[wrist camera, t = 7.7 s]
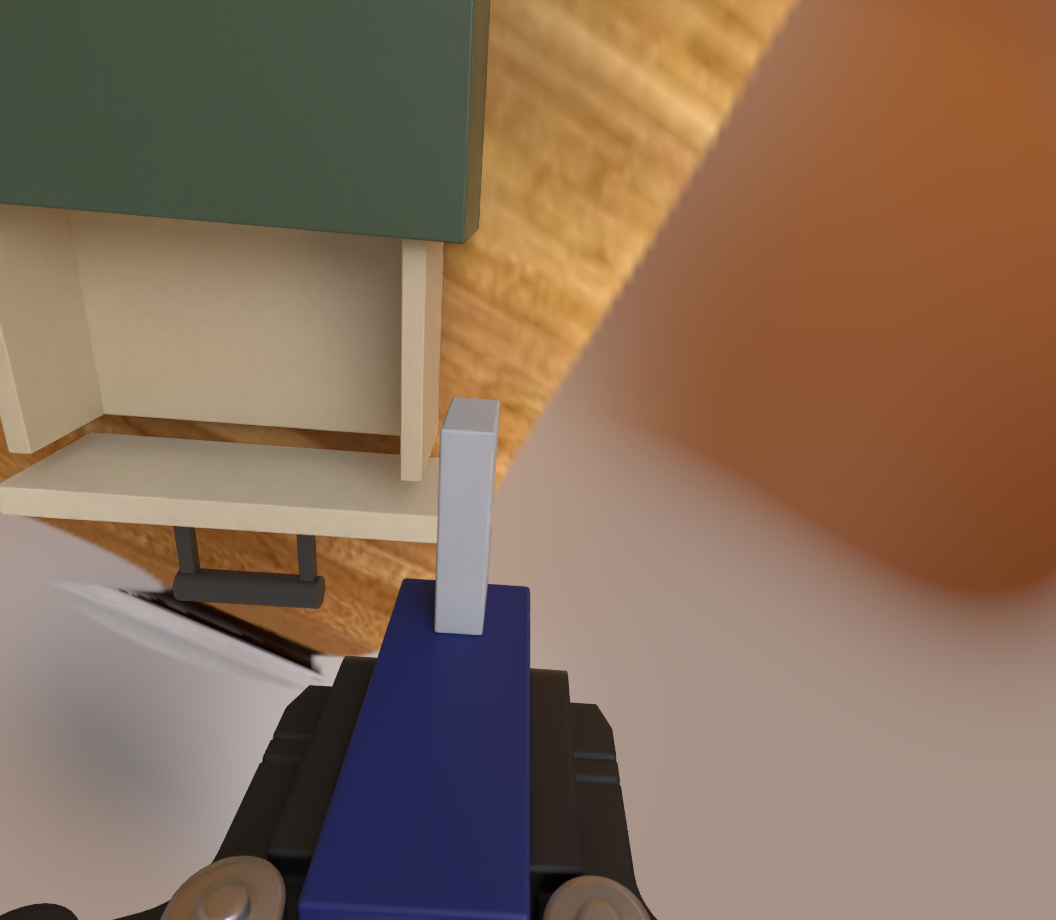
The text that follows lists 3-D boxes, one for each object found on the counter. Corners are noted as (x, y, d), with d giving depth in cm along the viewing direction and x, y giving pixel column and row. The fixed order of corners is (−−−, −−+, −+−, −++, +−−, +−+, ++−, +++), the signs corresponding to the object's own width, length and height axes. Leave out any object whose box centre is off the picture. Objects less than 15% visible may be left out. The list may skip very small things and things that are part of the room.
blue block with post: (402, 700, 13) (309, 1069, 8) (403, 392, 11) (267, 612, 5) (518, 707, 13) (510, 1078, 8) (548, 403, 11) (567, 632, 5)
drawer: (448, 566, 32) (434, 642, 27) (112, 544, 31) (28, 617, 26) (465, 167, 25) (450, 161, 20) (30, 127, 24) (-108, 109, 19)
